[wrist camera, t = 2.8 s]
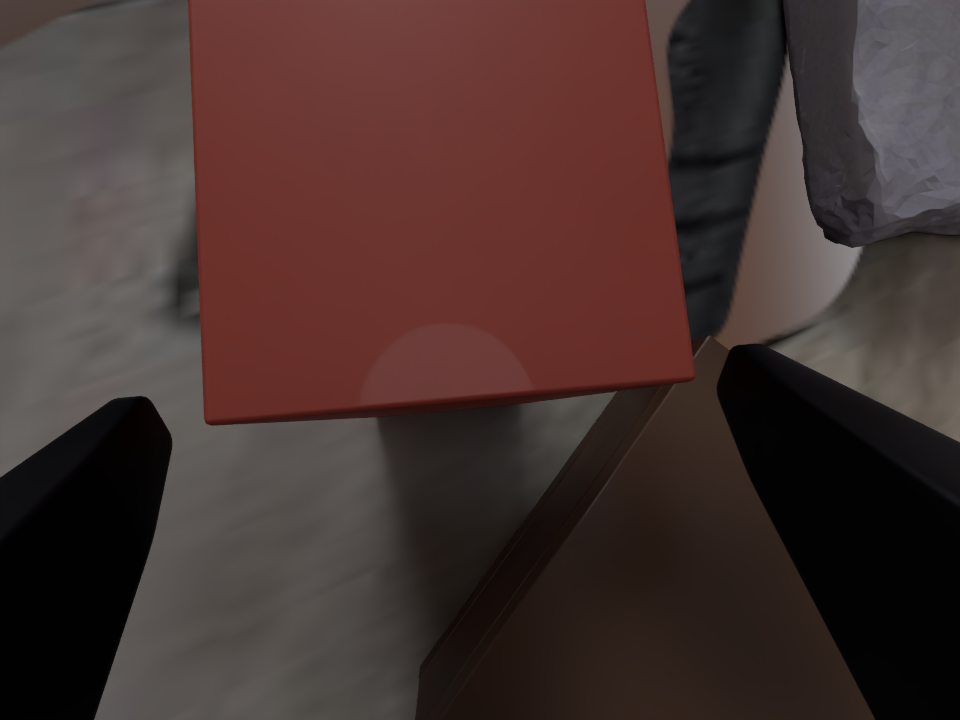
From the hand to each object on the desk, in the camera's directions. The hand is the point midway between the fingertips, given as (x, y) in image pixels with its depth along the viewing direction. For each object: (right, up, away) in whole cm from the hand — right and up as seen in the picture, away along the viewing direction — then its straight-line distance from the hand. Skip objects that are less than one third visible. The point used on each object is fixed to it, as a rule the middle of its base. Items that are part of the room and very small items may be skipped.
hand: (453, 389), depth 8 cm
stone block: (+17, +11, +12) cm, 24 cm away
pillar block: (-1, +1, +10) cm, 10 cm away
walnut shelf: (+7, -8, +9) cm, 14 cm away
